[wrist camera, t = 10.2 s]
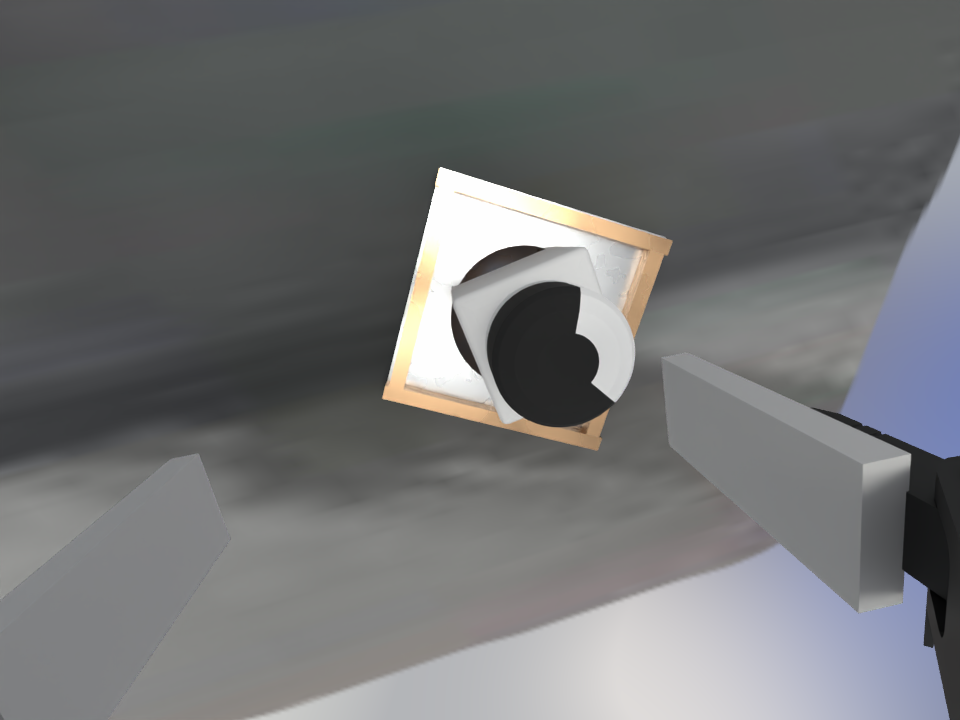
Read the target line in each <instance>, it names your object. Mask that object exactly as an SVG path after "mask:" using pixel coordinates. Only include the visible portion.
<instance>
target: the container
mask: <svg viewBox="0 0 960 720" xmlns="http://www.w3.org/2000/svg"><path fill="white" fill-rule="evenodd" d="M451 294H452V302H453V308H454V310H455V313H456V315H457V318H458V320H459V322H460V325H461V327H462V330H463V332H464V334H465V337H466V339H467V342H468V344H469V346H470V349H471V351H472V353H473V356H474V358H475V361H476V363H477V365H478V368H479V370H480V373H481V375H482V377H483V380H484V382H485V385H486V387H487V389H488V392H489V394H490V397H491V399H492V401H493V404H494V406H495V409H496V411H497V413H498V416H499V418H500V420H501V421H502V423H505V424H510V423H512V422H515V421H517V420H520V419H522V418H525V419H527V420H529V421H531V422H533V423H536V424H539V425H543V426H548V427H571V426H576V425H580V424H583V423H586V422H588V421H591V420H593V419H594V418H596V417H598V416H600V415H601V414H603V413H604V412H605V411H607V410H608V409H609V408H610V407H611V406H612V405H613V404H614V403H615V402H616V401H617V400H618V399H619V397H620V396H621V395H622V393H623V392H624V390H625V388H626V387H627V385H628V382H629V380H630V378H631V375H632V371H633V368H634V361H635V345H634V338H633V335H632V331H631V328H630V326H629V324H628V322H627V320H626V318H625V317H624V315H623V314H622V312H621V311H620V310H619V309H618V308H617V306H616V305H615V304H613V303H612V302H611V301H610V300H609V299H607V298H606V297H604V296H603V294H602V291H601V288H600V285H599V282H598V279H597V276H596V273H595V270H594V267H593V264H592V261H591V258H590V255H589V252H588V250H587V249H586V248H584V247H561V246H553V247H549V248H547V249H544V250H542V251H539V252H537V253H534V254H532V255H530V256H527V257H525V258H522V259H520V260H517V261H515V262H513V263H510V264H508V265H505V266H503V267H500V268H498V269H496V270H493V271H491V272H488V273H486V274H483V275H481V276H479V277H476V278H474V279H471V280H469V281H467V282H464V283H462V284H459V285H457V286H455V287H453V288H452V290H451Z"/></svg>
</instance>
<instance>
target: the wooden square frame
mask: <svg viewBox="0 0 960 720" xmlns="http://www.w3.org/2000/svg"><path fill="white" fill-rule="evenodd" d="M435 186H436V188H435V192H434V196H433V200H432V204H431V208H430V212H429V216H428V220H427V224H426V228H425V232H424V236H423V240H422V244H421V248H420V252H419V256H418V260H417V264H416V268H415V272H414V276H413V280H412V284H411V288H410V292H409V296H408V300H407V304H406V308H405V312H404V316H403V320H402V324H401V328H400V332H399V336H398V340H397V344H396V348H395V352H394V357H393V361H392V365H391V369H390V373H389V377H388V381H387V383H386V385H385V389H384V393H383V397H382V399H386V400H390V401H394V402H398V403H402V404H406V405H411V406H415V407H419V408H423V409H427V410H431V411H435V412H440V413H444V414H448V415H452V416H456V417H460V418H464V419H469V420H473V421H477V422H481V423H485V424H489V425H493V426H498V427H502V428H506V429H510V430H514V431H518V432H522V433H526V434H531V435H535V436H539V437H543V438H547V439H551V440H555V441H560V442H564V443H568V444H572V445H576V446H580V447H584V448H589V449H593V450H597V451H598V448H599V446H600V443H601V440H602V438H601V436H600V433H601V430H602V427H603V425H604V422H605V419H606V416H607V413H608V411H609V409H608V410H607V411H605V412H604V413H603V414H601V415H600V416H598V417H596V418H594V419H593V420H591V421H588V422H586V423H583V424H580V425H576V426H571V427H548V426H543V425H539V424H536V423H533V422H531V421H529V420H527V419H525V418H522V419H520V420H517V421H515V422H512V423H510V424H505V423H502V421H501V420H500V418H499V416H498V413H497V411H496V409H495V406H494V404H493V401H492V399H491V397H490V394H489V392H488V389H487V387H486V385H485V382H484V380H483V377H482V375H481V373H480V370H479V368H478V365H477V363H476V361H475V358H474V356H473V353H472V351H471V349H470V346H469V344H468V342H467V339H466V337H465V334H464V332H463V330H462V327H461V325H460V322H459V320H458V318H457V315H456V313H455V310H454V308H453V302H452V294H451V290H452V288H453V287H455V286H457V285H459V284H462V283H464V282H467V281H469V280H471V279H474V278H476V277H479V276H481V275H483V274H486V273H488V272H491V271H493V270H496V269H498V268H500V267H503V266H505V265H508V264H510V263H513V262H515V261H517V260H520V259H522V258H525V257H527V256H530V255H532V254H534V253H537V252H539V251H542V250H544V249H547V248H549V247H553V246H561V247H584V248H586V249H587V250H588V252H589V255H590V258H591V261H592V264H593V267H594V270H595V273H596V276H597V279H598V282H599V285H600V288H601V291H602V294H603V296H604V297H606V298H607V299H609V300H610V301H611V302H612V303H613V304H615V305H616V306H617V308H618V309H619V310H620V311H621V312H622V314H623V315H624V317H625V318H626V320H627V322H628V324H629V326H630V328H631V331H632V335H633V338H635V335H636V332H637V329H638V326H639V324H640V321H641V318H642V315H643V312H644V310H645V307H646V304H647V301H648V298H649V296H650V293H651V290H652V287H653V284H654V282H655V279H656V276H657V273H658V270H659V267H660V265H661V262H662V259H663V256H668V253H669V250H670V247H671V244H672V242H673V241H672V240H668V239H666V237H663V236H660V235H657V234H653V233H650V232H647V231H644V230H641V229H637V228H634V227H631V226H628V225H624V224H621V223H618V222H615V221H612V220H608V219H605V218H602V217H599V216H595V215H592V214H589V213H586V212H583V211H579V210H576V209H573V208H570V207H566V206H563V205H560V204H557V203H554V202H550V201H547V200H544V199H541V198H537V197H534V196H531V195H528V194H524V193H521V192H518V191H515V190H512V189H508V188H505V187H502V186H499V185H495V184H492V183H489V182H486V181H483V180H479V179H476V178H473V177H470V176H466V175H463V174H460V173H457V172H454V171H450V170H447V169H444V168H441V167H440V169H439V172H438V176H437V180H436V184H435Z"/></svg>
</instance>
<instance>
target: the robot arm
mask: <svg viewBox="0 0 960 720" xmlns="http://www.w3.org/2000/svg"><path fill="white" fill-rule="evenodd" d="M661 360H662V371H663V383H664V394H665V405H666V417H667V428H668V439H669V446H671V447H672V448H673V449H674V450H675V451H676V452H677V453H678V454H680V455H681V456H682V457H683V458H684V459H685V460H686V461H688V462H689V463H690V464H691V465H692V466H693V467H694V468H695V469H697V470H698V471H699V472H700V473H701V474H702V475H703V476H704V477H706V478H707V479H708V480H709V481H710V482H711V483H712V484H713V485H715V486H716V487H717V488H718V489H719V490H720V491H721V492H722V493H724V494H725V495H726V496H727V497H728V498H729V499H730V500H732V501H733V502H734V503H735V504H736V505H737V506H738V507H739V508H741V509H742V510H743V511H744V512H745V513H746V514H747V515H748V516H750V517H751V518H752V519H753V520H754V521H755V522H756V523H757V524H759V525H760V526H761V527H762V528H763V529H764V530H765V531H766V532H768V533H769V534H770V535H771V536H772V537H773V538H774V539H775V540H777V541H778V542H779V543H780V544H781V545H782V546H783V547H785V548H786V549H787V550H788V551H789V552H790V553H791V554H793V555H794V556H795V557H796V558H797V559H798V560H799V561H800V562H802V563H803V564H804V565H805V566H806V567H807V568H808V569H809V570H810V571H812V572H813V573H814V574H815V575H816V576H817V577H818V578H820V579H821V580H822V581H823V582H824V583H825V584H826V585H827V586H829V587H830V588H831V589H832V590H833V591H834V592H835V593H837V594H838V595H839V596H840V597H841V598H842V599H843V600H844V601H845V602H847V603H848V604H849V605H850V606H851V607H852V608H854V610H856V611H857V612H858V613H862V612H867V611H871V610H875V609H879V608H884V607H888V606H892V605H897V604H901V603H903V586H904V571H905V572H907V573H908V574H909V575H911V576H912V577H914V578H915V579H916V580H918V581H920V582H921V583H922V584H923V585H925V586H926V587H928V592H927V606H926V620H925V634H924V646H928V647H931V648H933V646H935V651H936V656H937V660H938V665H939V670H940V675H941V680H942V684H943V689H944V694H945V699H946V704H947V708H948V713H949V718H950V720H960V456H957V457H950V458H947V459H942V458H940V457H938V456H935V455H933V454H931V453H928V452H926V451H924V450H922V449H919V448H917V447H915V446H912V445H910V444H908V443H905V442H903V441H901V440H899V439H896V438H894V437H892V436H889V435H887V434H883V435H882V434H881V432H880V431H878V430H876V429H873V428H870V427H869V426H862V424H861V423H859V422H857V421H855V420H852V419H850V418H848V417H845V416H843V415H841V414H838V413H834V412H829V411H825V410H820V409H816V408H809V407H807V406H805V405H802V404H800V403H798V402H796V401H793V400H791V399H789V398H787V397H785V396H782V395H780V394H778V393H776V392H774V391H771V390H769V389H767V388H765V387H763V386H760V385H758V384H756V383H754V382H752V381H749V380H747V379H745V378H743V377H741V376H738V375H736V374H734V373H732V372H730V371H727V370H725V369H723V368H721V367H719V366H716V365H714V364H712V363H710V362H707V361H705V360H703V359H701V358H699V357H696V356H694V355H692V354H690V353H688V352H686V353H681V354H677V355H672V356H667V357H662V358H661ZM229 541H230V536H229V533H228V531H227V528H226V525H225V523H224V520H223V517H222V515H221V512H220V509H219V506H218V504H217V501H216V498H215V496H214V493H213V490H212V488H211V485H210V482H209V480H208V477H207V474H206V472H205V469H204V466H203V464H202V461H201V458H200V456H199V453H198V454H193V455H188V456H183V457H178V458H173V459H170V460H169V461H168V462H166V463H165V464H164V465H163V466H162V467H160V468H159V469H158V470H157V471H156V472H154V473H153V474H152V475H151V476H150V477H148V478H147V479H146V480H145V481H144V482H142V483H141V484H140V485H139V486H138V487H136V488H135V489H134V490H133V491H132V492H130V493H129V494H128V495H127V496H126V497H124V498H123V499H122V500H121V501H120V502H118V503H117V504H116V505H115V506H114V507H112V508H111V509H110V510H109V511H107V512H106V513H105V514H104V515H103V516H101V517H100V518H99V519H98V520H97V521H95V522H94V523H93V524H92V525H91V526H89V527H88V528H87V529H86V530H85V531H83V532H82V533H81V534H80V535H79V536H77V537H76V538H75V539H74V540H73V541H71V542H70V543H69V544H68V545H67V546H65V547H64V548H63V549H62V550H61V551H59V552H58V553H57V554H56V555H55V556H53V557H52V558H51V559H50V560H49V561H47V562H46V563H45V564H44V565H43V566H41V567H40V568H39V569H38V570H37V571H35V572H34V573H33V574H32V575H31V576H29V577H28V578H27V579H26V580H25V581H23V582H22V583H21V584H20V585H19V586H17V587H16V588H15V589H14V590H13V591H11V592H10V593H9V594H8V595H7V596H5V597H4V598H3V599H2V600H1V601H0V720H108V718H109V717H110V715H111V714H112V712H113V711H114V709H115V708H116V707H117V705H118V704H119V702H120V701H121V699H122V698H123V696H124V695H125V693H126V692H127V690H128V689H129V687H130V686H131V685H132V683H133V682H134V680H135V679H136V677H137V676H138V674H139V673H140V671H141V670H142V668H143V667H144V665H145V664H146V663H147V661H148V660H149V658H150V657H151V655H152V654H153V652H154V651H155V649H156V648H157V646H158V645H159V643H160V642H161V641H162V639H163V638H164V636H165V635H166V633H167V632H168V630H169V629H170V627H171V626H172V624H173V623H174V621H175V620H176V619H177V617H178V616H179V614H180V613H181V611H182V610H183V608H184V607H185V605H186V604H187V602H188V601H189V599H190V598H191V597H192V595H193V594H194V592H195V591H196V589H197V588H198V586H199V585H200V583H201V582H202V580H203V579H204V577H205V576H206V575H207V573H208V572H209V570H210V569H211V567H212V566H213V564H214V563H215V561H216V560H217V558H218V557H219V555H220V554H221V553H222V551H223V550H224V548H225V547H226V545H227V544H228V542H229Z"/></svg>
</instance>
